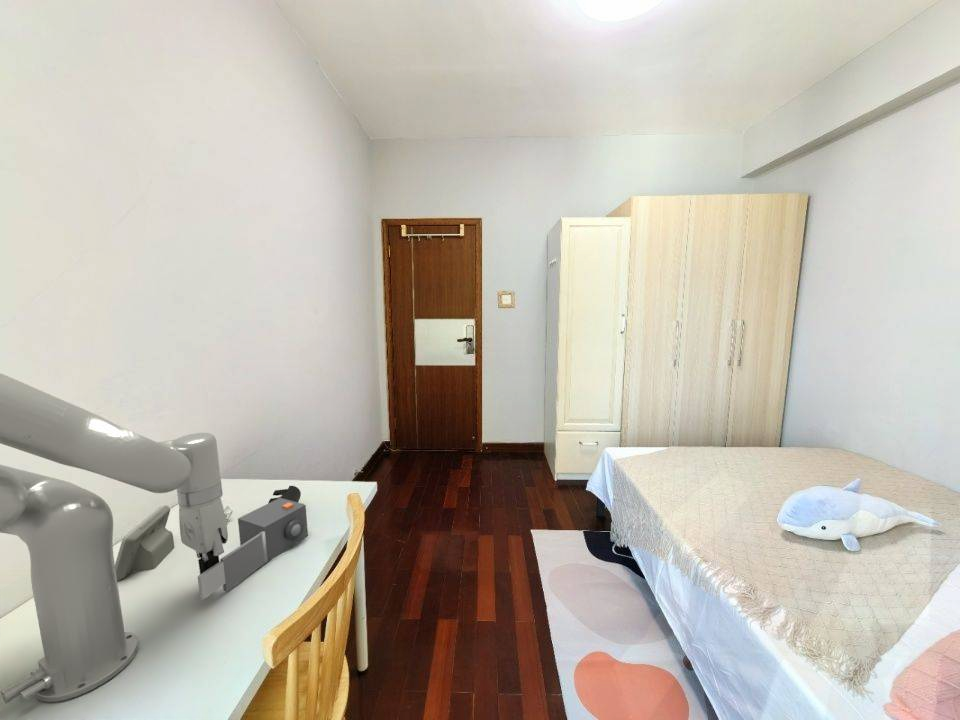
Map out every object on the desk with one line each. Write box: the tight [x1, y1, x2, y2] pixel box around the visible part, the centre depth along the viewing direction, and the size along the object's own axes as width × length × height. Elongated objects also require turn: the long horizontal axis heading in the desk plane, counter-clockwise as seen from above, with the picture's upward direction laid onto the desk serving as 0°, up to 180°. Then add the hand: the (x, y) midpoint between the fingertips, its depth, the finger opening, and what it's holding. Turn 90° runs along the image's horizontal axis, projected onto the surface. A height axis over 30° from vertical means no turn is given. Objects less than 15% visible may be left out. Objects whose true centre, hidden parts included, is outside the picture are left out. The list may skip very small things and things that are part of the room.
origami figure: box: [221, 500, 234, 523], centre depth 112 cm, size 12×8×5 cm
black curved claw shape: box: [267, 485, 302, 504], centre depth 118 cm, size 10×7×7 cm
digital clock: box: [114, 505, 175, 581], centre depth 96 cm, size 16×9×11 cm, turn 0°
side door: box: [197, 531, 269, 600], centre depth 87 cm, size 1×16×8 cm, turn 163°
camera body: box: [237, 497, 309, 563], centre depth 102 cm, size 12×11×10 cm
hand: (210, 573), depth 84 cm, fingers closed
